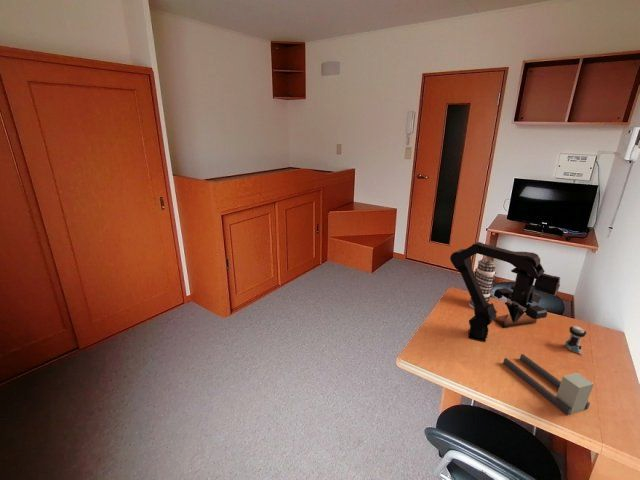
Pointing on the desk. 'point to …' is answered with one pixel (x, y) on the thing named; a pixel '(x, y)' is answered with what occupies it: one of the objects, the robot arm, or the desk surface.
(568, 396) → the block
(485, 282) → the decorative candle
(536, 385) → the steel chute
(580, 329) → the push button
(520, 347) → the desk surface
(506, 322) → the sunglasses case
